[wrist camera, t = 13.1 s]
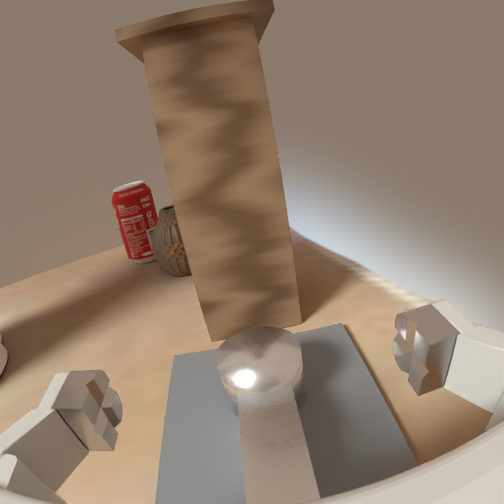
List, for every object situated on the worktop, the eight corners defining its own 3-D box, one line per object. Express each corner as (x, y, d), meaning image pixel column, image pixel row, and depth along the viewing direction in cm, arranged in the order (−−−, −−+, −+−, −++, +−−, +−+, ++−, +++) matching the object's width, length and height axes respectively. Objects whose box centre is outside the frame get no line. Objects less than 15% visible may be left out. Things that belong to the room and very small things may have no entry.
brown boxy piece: (194, 351, 27) (112, 7, 16) (200, 286, 38) (147, 44, 27) (321, 326, 27) (266, -24, 16) (293, 268, 38) (251, 23, 27)
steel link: (247, 632, 5) (223, 635, 4) (229, 377, 22) (215, 334, 21) (368, 612, 5) (383, 610, 4) (297, 364, 22) (291, 320, 21)
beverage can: (156, 246, 55) (138, 179, 50) (173, 253, 50) (154, 178, 46) (124, 260, 51) (104, 191, 47) (139, 269, 46) (116, 191, 42)
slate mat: (155, 602, 7) (150, 601, 7) (176, 361, 26) (174, 355, 25) (452, 547, 7) (456, 544, 7) (341, 328, 26) (341, 322, 26)
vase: (203, 254, 47) (189, 196, 44) (216, 271, 41) (200, 204, 38) (158, 268, 45) (141, 210, 42) (164, 287, 39) (144, 220, 36)
